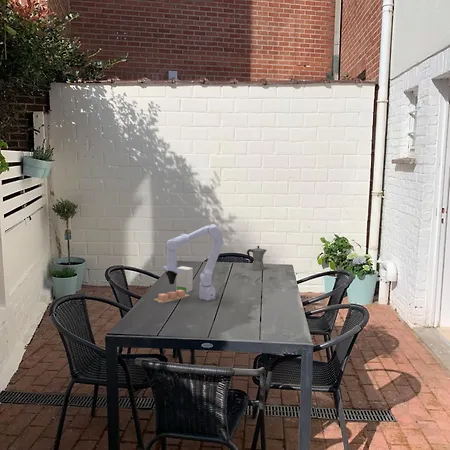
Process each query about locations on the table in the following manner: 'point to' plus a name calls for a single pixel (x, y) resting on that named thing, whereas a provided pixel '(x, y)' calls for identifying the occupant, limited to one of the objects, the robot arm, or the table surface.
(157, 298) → the board
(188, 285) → the skincare box
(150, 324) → the table surface
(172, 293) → the tile two
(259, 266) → the coffeepot
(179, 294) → the tile one
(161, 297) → the tile three
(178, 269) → the robot arm
